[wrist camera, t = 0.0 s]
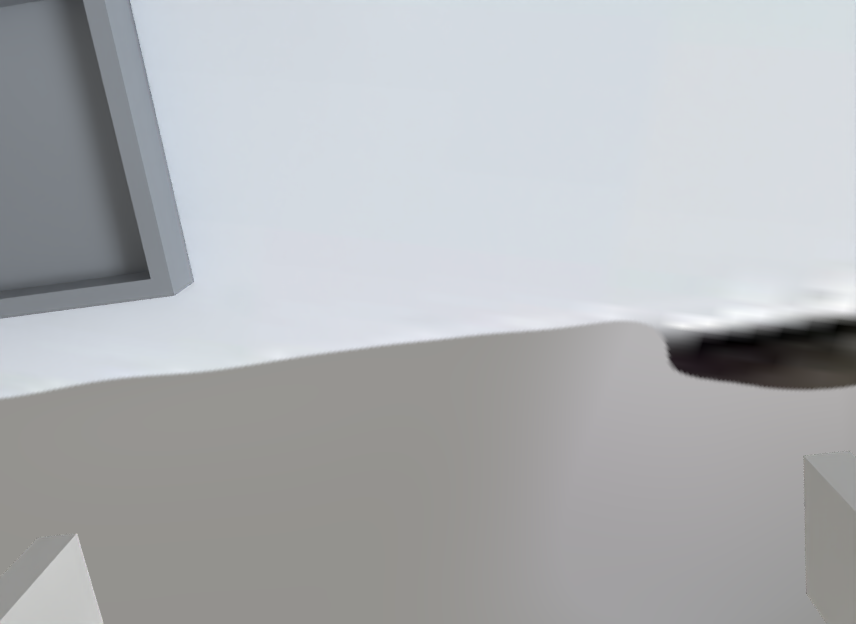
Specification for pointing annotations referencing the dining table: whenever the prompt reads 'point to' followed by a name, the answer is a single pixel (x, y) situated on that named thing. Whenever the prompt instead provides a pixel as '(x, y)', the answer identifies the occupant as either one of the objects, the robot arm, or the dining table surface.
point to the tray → (81, 163)
